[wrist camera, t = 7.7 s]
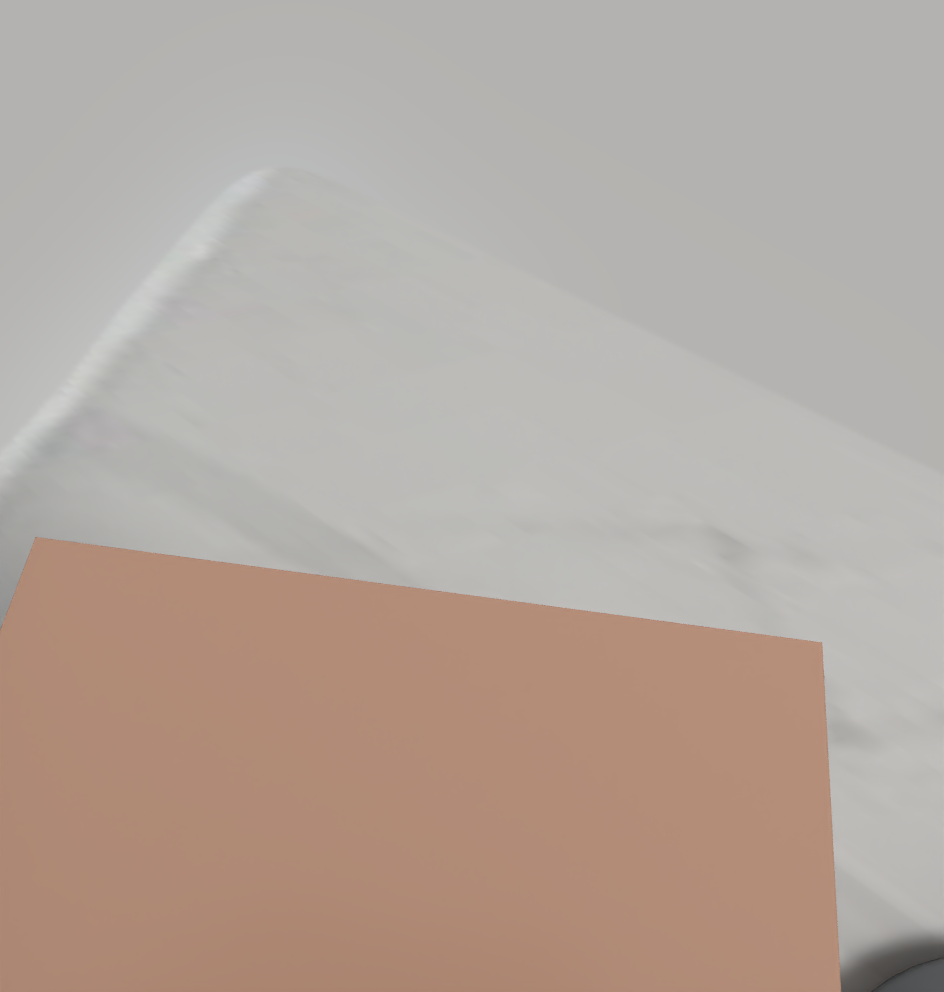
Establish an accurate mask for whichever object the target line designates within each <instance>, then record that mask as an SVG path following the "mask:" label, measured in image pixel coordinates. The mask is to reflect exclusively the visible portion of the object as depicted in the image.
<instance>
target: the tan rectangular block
mask: <svg viewBox="0 0 944 992" xmlns="http://www.w3.org/2000/svg"><path fill="white" fill-rule="evenodd" d="M0 992H841V981H840V963H839V944H838V926H837V907H836V889H835V871H834V852H833V834H832V815H831V797H830V778H829V760H828V741H827V723H826V705H825V686H824V668H823V649H822V642H814V641H807V640H799V639H792V638H784V637H777V636H769V635H762V634H755V633H747V632H740V631H732V630H725V629H717V628H710V627H702V626H695V625H687V624H680V623H672V622H665V621H658V620H650V619H643V618H635V617H628V616H620V615H613V614H605V613H598V612H590V611H583V610H575V609H568V608H560V607H553V606H546V605H538V604H531V603H523V602H516V601H508V600H501V599H493V598H486V597H478V596H471V595H463V594H456V593H449V592H441V591H434V590H426V589H419V588H411V587H404V586H396V585H389V584H381V583H374V582H366V581H359V580H352V579H344V578H337V577H329V576H322V575H314V574H307V573H299V572H292V571H284V570H277V569H269V568H262V567H255V566H247V565H240V564H232V563H225V562H217V561H210V560H202V559H195V558H187V557H180V556H172V555H165V554H158V553H150V552H143V551H135V550H128V549H120V548H113V547H105V546H98V545H90V544H83V543H75V542H68V541H60V540H53V539H46V538H38V537H36V538H35V541H34V543H33V546H32V548H31V551H30V554H29V556H28V559H27V562H26V564H25V567H24V569H23V572H22V575H21V577H20V580H19V583H18V585H17V588H16V590H15V593H14V596H13V598H12V601H11V604H10V606H9V609H8V611H7V614H6V617H5V619H4V622H3V625H2V627H1V630H0Z"/></svg>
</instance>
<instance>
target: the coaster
mask: <svg viewBox="0 0 944 992" xmlns="http://www.w3.org/2000/svg"><path fill="white" fill-rule="evenodd" d="M872 992H944V958H941V959H936V960H933V961H930V962H927V963H923V964H920V965H917V966H914V967H912V968H910V969H908V970H906V971H904V972H902V973H900V974H898V975H896V976H894V977H892V978H890V979H889V980H887V981H886V982H884V983H883V984H882V985H880V986H879V987H878V988H876V989H875V990H873V991H872Z"/></svg>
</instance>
